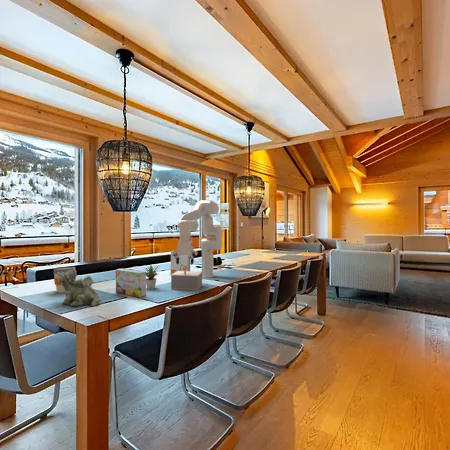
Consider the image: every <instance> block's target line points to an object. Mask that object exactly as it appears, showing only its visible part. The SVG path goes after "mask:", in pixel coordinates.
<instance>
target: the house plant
mask: <svg viewBox="0 0 450 450" xmlns="http://www.w3.org/2000/svg"><path fill="white" fill-rule="evenodd" d="M160 266H162V265H156V266H155V267H154V266H153V265H152V264H151V265H149V267H148V266H147V265H146V267H144V266H143V268H144V269H145V271H146V290H147V289H148V290H153V289H155V288H156V283H157V278H156V276H158V275H159V272H157V271H158V269H159V267H160Z"/></svg>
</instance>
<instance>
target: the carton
mask: <svg viewBox="0 0 450 450" xmlns="http://www.w3.org/2000/svg"><path fill="white" fill-rule="evenodd" d="M170 278H171V279H170V280H171V281H170V282H171V283H170V289H171V290H191V291H198V290H199V289H200V288H201V287H202V286H203V277H202V273H201V274H200V275H198V276H176V275H171V274H170Z"/></svg>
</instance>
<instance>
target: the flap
mask: <svg viewBox="0 0 450 450" xmlns="http://www.w3.org/2000/svg"><path fill="white" fill-rule="evenodd" d="M187 269H188V267H187V266H183V270H184V271H177V272H175V273H173V274H171V273H170V276H171V275H176V276H198V275H200V274H201V273H202V271H195V270H194V271H191V270H190V271H186V270H187Z"/></svg>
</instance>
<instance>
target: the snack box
mask: <svg viewBox="0 0 450 450" xmlns="http://www.w3.org/2000/svg"><path fill="white" fill-rule="evenodd" d="M146 273H147V270H145V271H144V270H136V269H130V268H129V269H128V268H123V267H122V268H117V269H115V293H116V294H121V295H127V296H132V297H137V298H143V297H146V296H147V284H146V279H147V275H146Z"/></svg>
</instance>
